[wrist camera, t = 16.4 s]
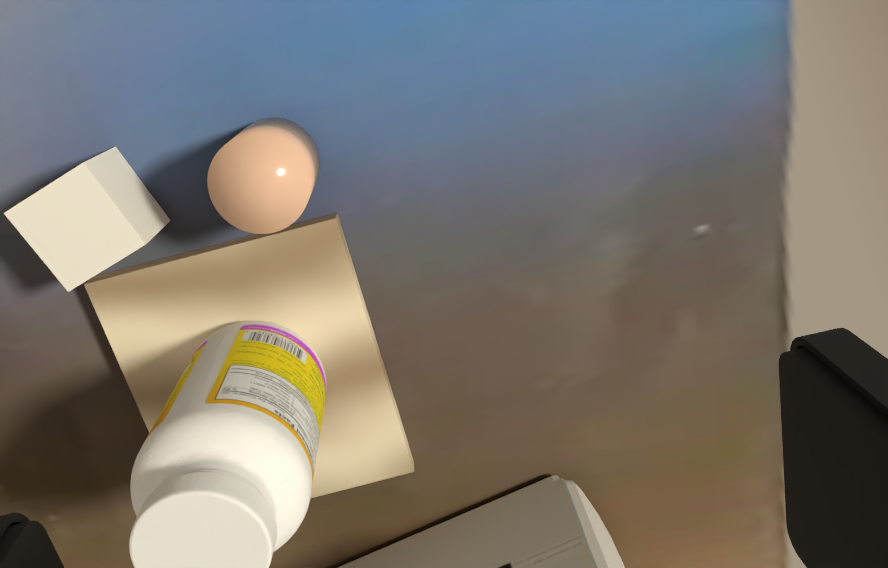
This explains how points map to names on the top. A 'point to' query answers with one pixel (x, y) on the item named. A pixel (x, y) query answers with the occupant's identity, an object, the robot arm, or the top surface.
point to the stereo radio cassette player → (510, 535)
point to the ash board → (271, 300)
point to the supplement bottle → (230, 453)
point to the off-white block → (89, 218)
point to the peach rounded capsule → (264, 176)
